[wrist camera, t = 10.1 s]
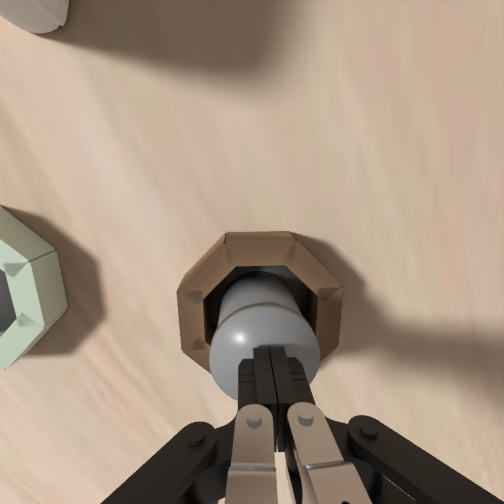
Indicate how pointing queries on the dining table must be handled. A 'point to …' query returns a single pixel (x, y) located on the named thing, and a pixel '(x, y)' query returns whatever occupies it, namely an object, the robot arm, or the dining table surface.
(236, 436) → the robot arm
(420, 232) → the dining table surface
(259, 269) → the walnut ring
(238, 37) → the dining table surface
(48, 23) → the photo printer
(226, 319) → the cap
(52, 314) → the sage ring
